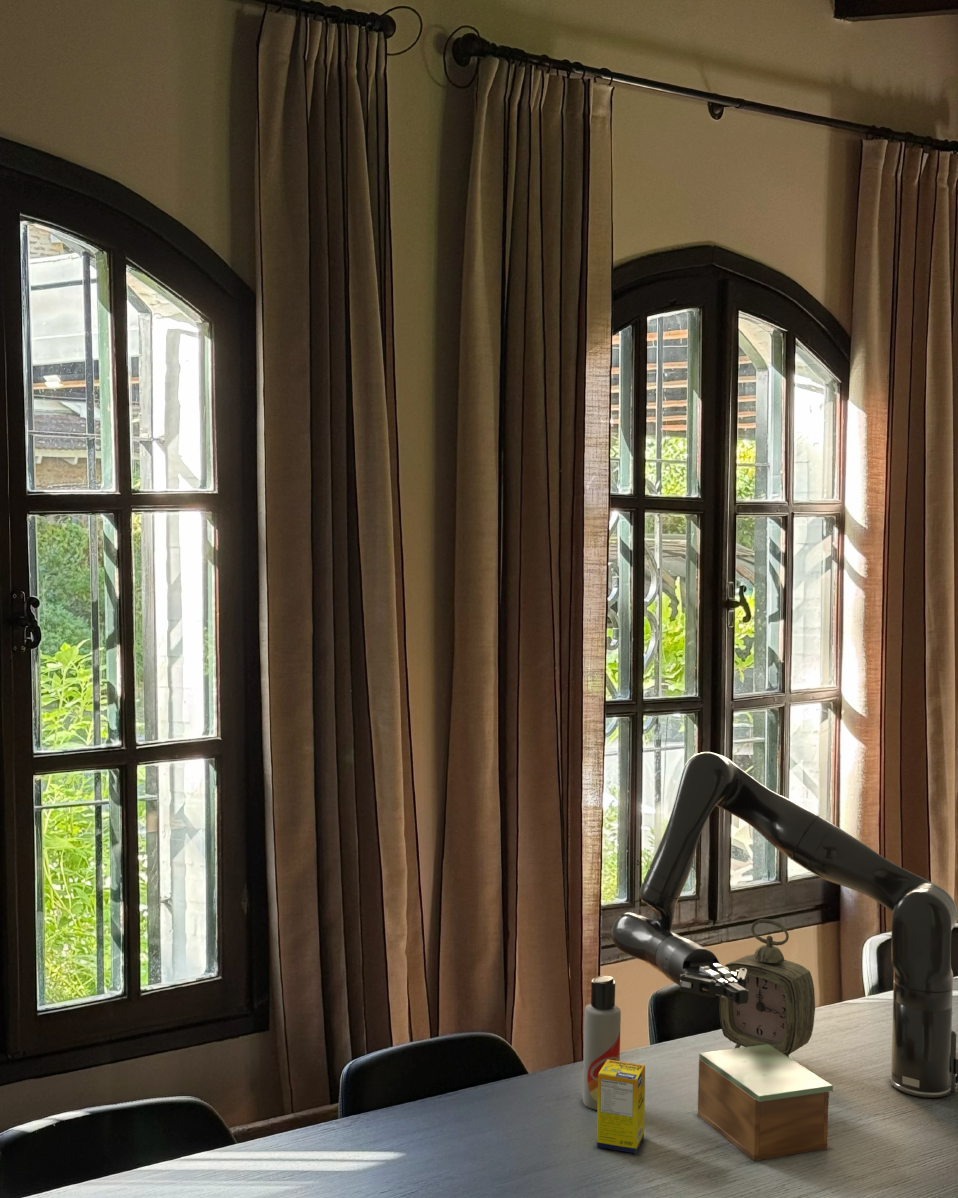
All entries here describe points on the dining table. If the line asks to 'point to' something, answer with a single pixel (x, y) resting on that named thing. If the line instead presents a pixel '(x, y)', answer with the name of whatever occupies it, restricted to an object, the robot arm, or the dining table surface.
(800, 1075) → the box lid
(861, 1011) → the dining table surface
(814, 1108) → the box
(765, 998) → the tabletop clock
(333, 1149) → the dining table surface
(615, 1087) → the supplement box
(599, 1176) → the dining table surface
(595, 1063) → the lotion bottle
